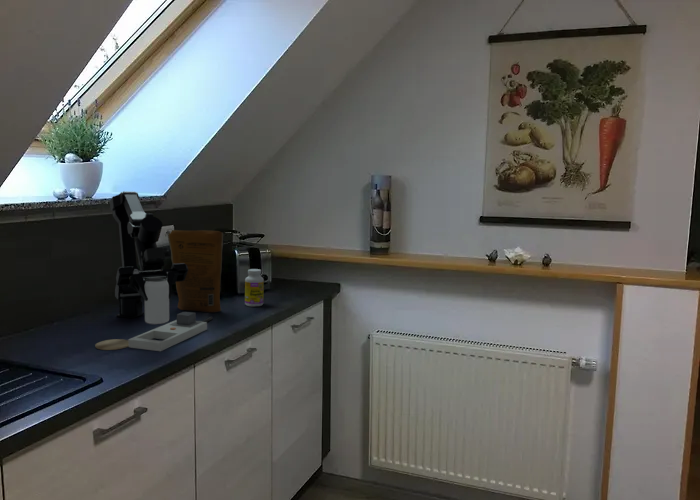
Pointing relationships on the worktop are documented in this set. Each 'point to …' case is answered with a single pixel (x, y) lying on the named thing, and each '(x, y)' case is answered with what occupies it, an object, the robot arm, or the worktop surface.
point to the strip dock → (166, 335)
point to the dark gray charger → (186, 318)
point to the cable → (208, 319)
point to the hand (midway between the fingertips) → (158, 299)
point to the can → (157, 300)
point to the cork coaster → (112, 344)
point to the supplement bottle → (254, 288)
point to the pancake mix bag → (198, 268)
